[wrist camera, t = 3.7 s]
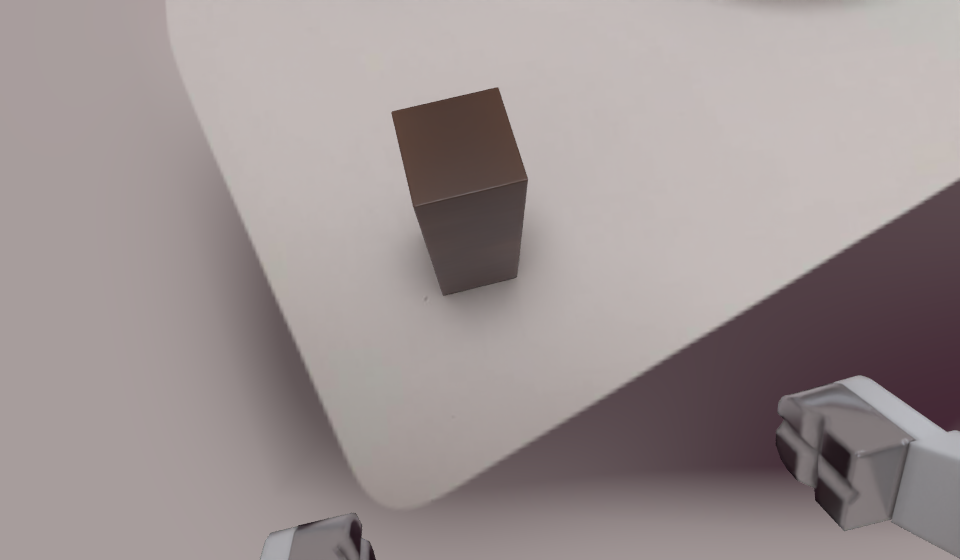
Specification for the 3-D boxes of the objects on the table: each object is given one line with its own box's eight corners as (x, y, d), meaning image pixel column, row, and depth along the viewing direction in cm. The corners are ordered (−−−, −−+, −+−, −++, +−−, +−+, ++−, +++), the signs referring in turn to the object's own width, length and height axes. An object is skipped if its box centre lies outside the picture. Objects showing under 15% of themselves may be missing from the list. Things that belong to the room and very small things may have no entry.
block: (443, 295, 27) (413, 207, 17) (426, 228, 28) (390, 111, 18) (517, 277, 27) (528, 180, 17) (497, 211, 28) (498, 86, 19)
